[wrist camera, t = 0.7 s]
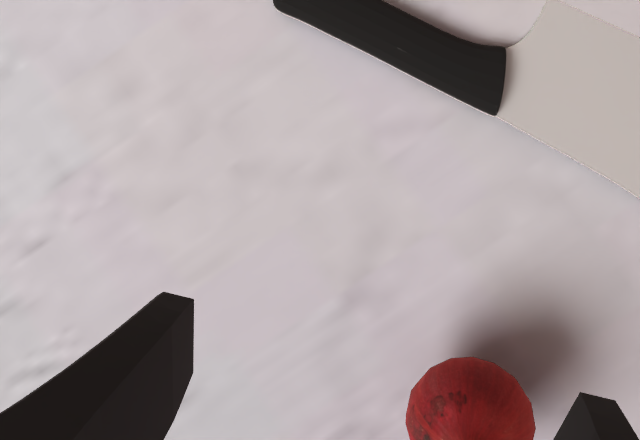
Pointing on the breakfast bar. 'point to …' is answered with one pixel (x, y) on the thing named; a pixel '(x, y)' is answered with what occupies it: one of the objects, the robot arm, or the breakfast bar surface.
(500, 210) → the breakfast bar surface
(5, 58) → the breakfast bar surface
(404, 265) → the breakfast bar surface
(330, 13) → the kitchen cleaver
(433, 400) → the onion
